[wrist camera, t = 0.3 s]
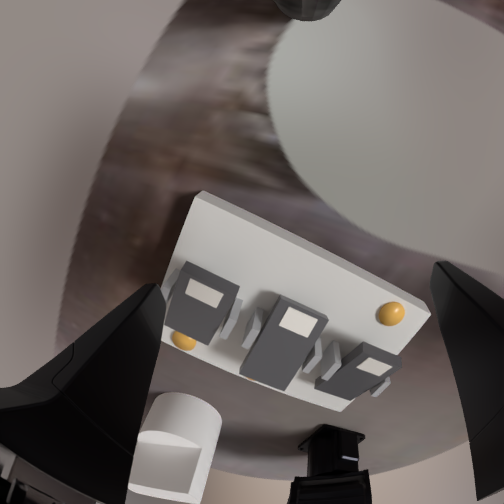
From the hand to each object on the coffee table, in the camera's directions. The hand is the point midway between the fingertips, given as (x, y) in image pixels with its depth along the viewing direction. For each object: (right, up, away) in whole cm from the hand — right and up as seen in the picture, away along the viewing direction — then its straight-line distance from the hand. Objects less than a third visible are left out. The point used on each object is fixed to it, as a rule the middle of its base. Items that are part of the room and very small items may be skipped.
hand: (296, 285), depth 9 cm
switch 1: (-5, -3, +13) cm, 15 cm away
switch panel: (+2, -5, +17) cm, 18 cm away
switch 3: (+7, -9, +14) cm, 18 cm away
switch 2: (+1, -6, +14) cm, 15 cm away
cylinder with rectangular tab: (-9, -19, +26) cm, 33 cm away
